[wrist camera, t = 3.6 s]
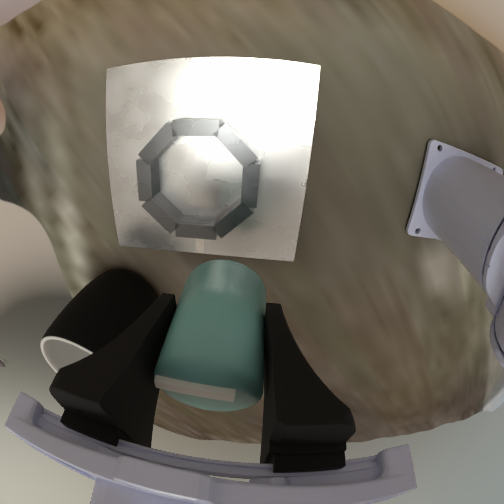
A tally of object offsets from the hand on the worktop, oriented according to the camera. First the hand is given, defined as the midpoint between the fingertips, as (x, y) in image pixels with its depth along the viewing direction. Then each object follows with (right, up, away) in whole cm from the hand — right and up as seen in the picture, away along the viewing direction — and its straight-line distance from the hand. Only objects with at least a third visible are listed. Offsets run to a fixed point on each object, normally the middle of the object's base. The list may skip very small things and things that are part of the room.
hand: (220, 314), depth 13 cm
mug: (-11, -2, +13) cm, 17 cm away
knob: (0, +1, +2) cm, 2 cm away
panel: (-2, +9, +5) cm, 11 cm away
